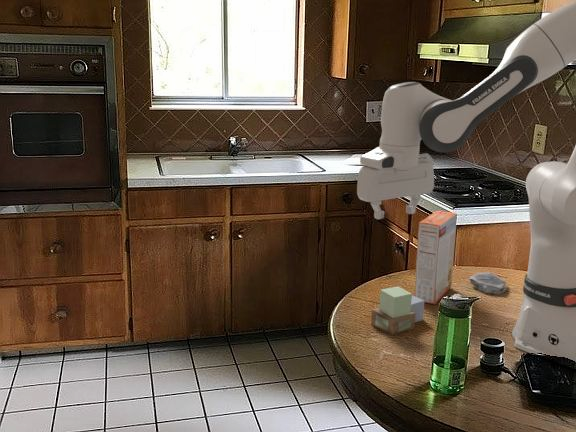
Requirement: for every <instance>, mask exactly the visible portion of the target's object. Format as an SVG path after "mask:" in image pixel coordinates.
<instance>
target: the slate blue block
mask: <svg viewBox="0 0 576 432" xmlns="http://www.w3.org/2000/svg"><path fill="white" fill-rule="evenodd" d="M411 311H413V312H415V313H416V314H415V323H418V322H420V321H423V320H424V314H425V313H424V312H425V302H424V300H422V299H420V298H417V297H415V296H414V295H413V294H412V299H411Z"/></svg>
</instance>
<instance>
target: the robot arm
mask: <svg viewBox="0 0 576 432" xmlns="http://www.w3.org/2000/svg"><path fill="white" fill-rule="evenodd" d="M574 61H576V0H573V1H571V2H568V3H566V4H564V5H562V6H561V7H559V8H557V9H555V10H554V11H551V12H550V13H547V14H546V15H545V16H543V17H541V18H540V19H538V20H537V21H536V22H534V23H533V24H532V25H530V26H529V27H528V28H526V29H524V31H522V32H521V33H520V34H519V35H518V36H517V37H516V38H515V39H514V40H513V41H512V42H510V44H509V45H508V46H506V49H505V51H504V55H503V57H502V60H501V61H500V63H499V65H498V66H497V68H496V69H495V70H494V71H492V73H491V74H489V76H487V77H486V78H484V79H483V80H482V81H481V82H479V83H478V84H476V85H475V86H474V87H473V88H471V89H470V90H469V91H467V92H466V93H464V94H463V95H461V96H460V97H459V98H456V99H453V100H452V99H449V98H446V97H443V96H442V95H441V96H440V95H439V94H437V93H434V92H433V91H431V90H429V89H427V87H424V86H423V85H422V83H420V82H418V81H417V82H416V81H409V82H408V81H407V82H400V83H396V84H393V85H391V86H390V87H388V88H387V89H386V91H385V92H384V94H383V95H384V96H383V100H382V105H381V113H380V126H381V136H380V138H379V146H377V147H375V148H374V149H372V150H370V151H368V152H366V153H365V154H362V155H361V156H360V159H359V163H360V165H362V166H361V168H360V169H359V171H358V174H357V175H358V176H357V184H356V194H357V197H358V199H359V200H361V201H363V202H366V203H367V202H368V203H370V205H371V208H372V209H373V211H374V212H373V217H374V219H376V220H382V219H383V220H384V218H385V211H384V210H382V209H381V206H380V205H382V201H386V200H391V199H399V198H405V197H409V198H410V201H409V202H408V203H409V204H408V205H405V213H406V214H408V215H413V214H416V210H417V209H416V207H417V206H418V204H419V202H420V201H421V195H427V194H431V193H433V190H434V188H435V173H434V166H433V164H434V158H433V157H432V155H430V154H429V153H427V152H426V153H421V154H420V147H421V146H420V145H421V141H422V142H423V144H424V145H425V146H427V148H429V149H430V150H432V151H434V152H437V153H443V154H445V153H452V152H454V151H456V150H458V149H460V148H461V147H463V146H464V145H465V143H467V141H468V140H469V138H470V137H471V135H472V133H473V131H474V130H475V128H476V127H477V126H478V125H479V124H480V123H481V122H482V121H483V120H485V119H486V118H487V117H489V115H491V114H492V113H494V112H495V111H496V110H498V109H499V108H500V107H502V106H503V105H504V104H506V103H507V102H509V101H510V100H511V99H513V98H514V97H516V96H517V95H519V94H520V93H522V92H524V91H526V90H528V89H529V88H531V87H533V86H535V85H537V84H540V83H542V82H543V81H545V80H547V79H548V78H550V77H551V76H554V75H555V74H557V73H558V72H560V71H561V70H562V69H564V68H565V67H567V66H569V65H570V64H572V63H573V62H574ZM525 188H526V189H525V190H526V193H527V197H528V207H529V208H528V210H529V211H528V212H529V225H530V248H529V249H530V250H529V258H528V264H527V266H528V267H527V273H526V274H525V275H524V280H523V288H522V291H523V298H522V303H521V306H520V310H519V314H518V317H517V320H516V323H515V325H514V327H513V329H512V332H511V334H512V335H511V336H512V338H513V339H514V344H513V345H514V347H515V348H517V349H519V350H521V351H524V352H526V353H528V354H531V353H542V354H546V355H550V356H557V357H565V358H568V359H571V360H573V361H575V362H576V144H575V146H574V148H573V150H572V153H571V155H570V158H569V159H568V162H567V163H566V162H562V161H545V162H541V163H538V164H536V165H534V167H533V168H531V170H530V171H529V173H528V174H527V176H526V179H525Z"/></svg>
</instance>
